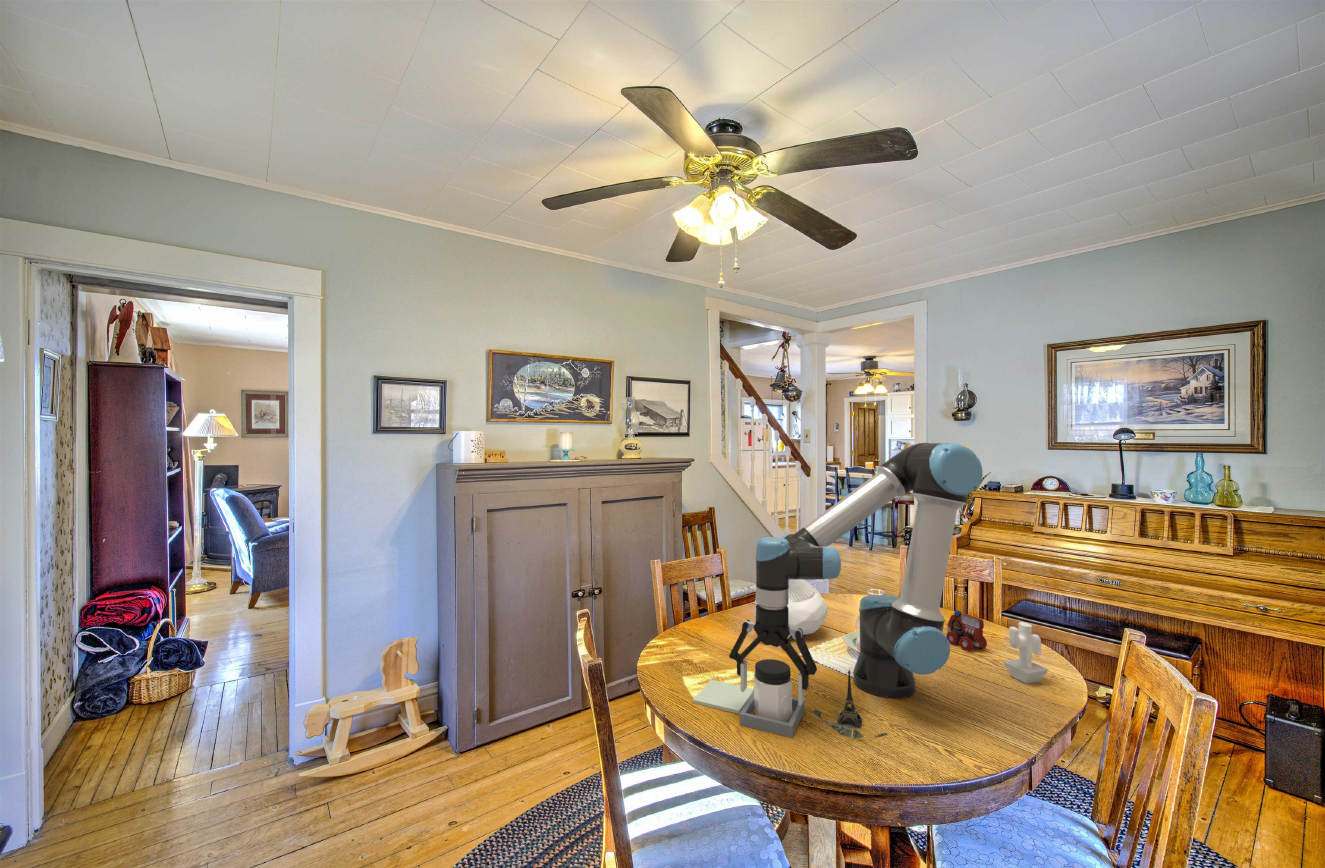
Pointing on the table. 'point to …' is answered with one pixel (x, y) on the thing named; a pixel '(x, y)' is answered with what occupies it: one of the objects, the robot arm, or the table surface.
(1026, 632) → the figurine
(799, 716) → the pocket
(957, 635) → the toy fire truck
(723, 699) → the coaster
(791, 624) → the decorative rooster
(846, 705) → the eiffel tower figurine
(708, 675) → the table surface
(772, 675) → the jar
